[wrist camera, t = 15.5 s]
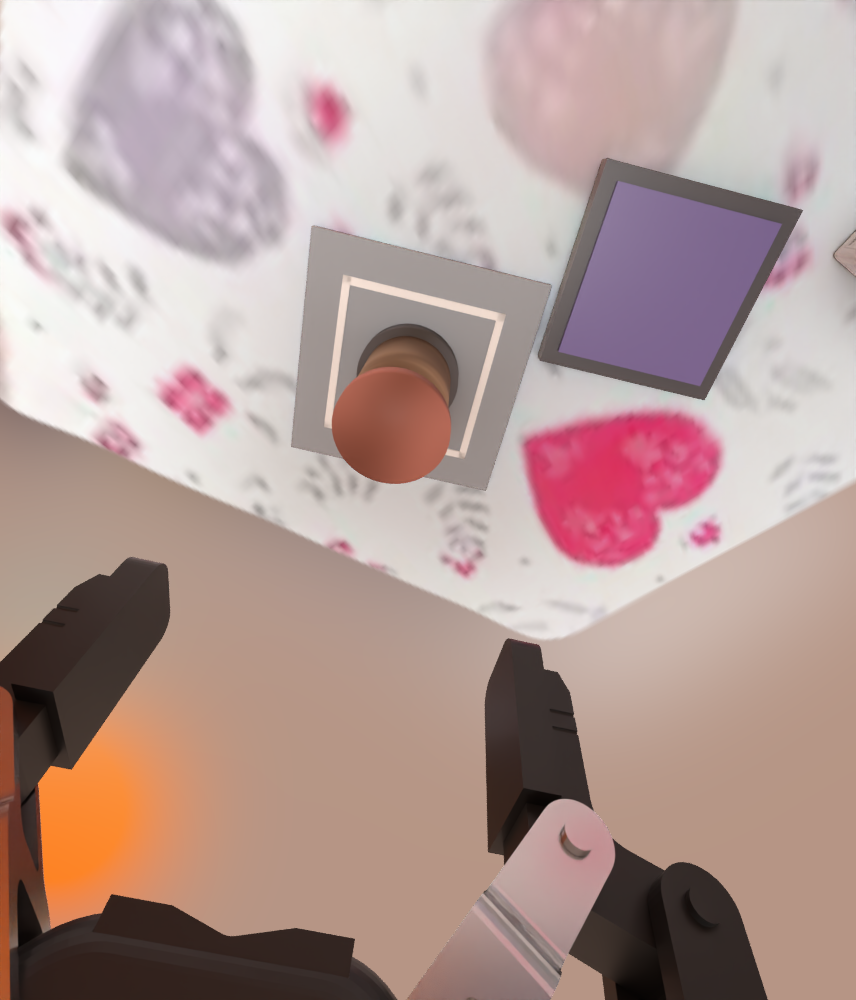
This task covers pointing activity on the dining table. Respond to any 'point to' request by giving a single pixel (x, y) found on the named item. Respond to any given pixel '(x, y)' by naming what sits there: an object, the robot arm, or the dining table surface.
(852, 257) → the light bulb box
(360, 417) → the stamp
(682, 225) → the ink pad
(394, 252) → the grey square plate
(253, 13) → the dining table surface
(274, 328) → the dining table surface
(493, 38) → the dining table surface
